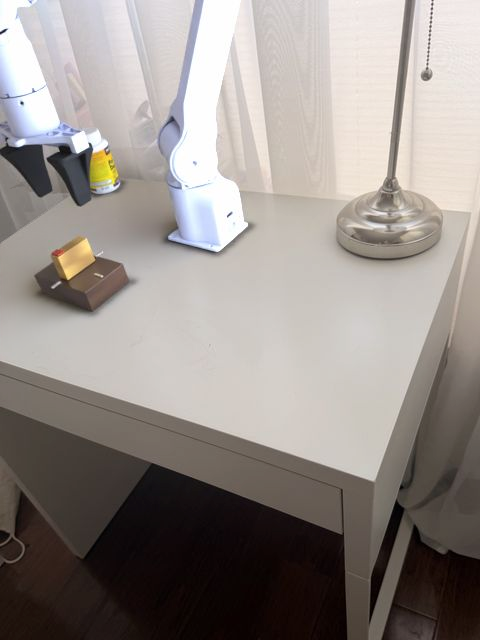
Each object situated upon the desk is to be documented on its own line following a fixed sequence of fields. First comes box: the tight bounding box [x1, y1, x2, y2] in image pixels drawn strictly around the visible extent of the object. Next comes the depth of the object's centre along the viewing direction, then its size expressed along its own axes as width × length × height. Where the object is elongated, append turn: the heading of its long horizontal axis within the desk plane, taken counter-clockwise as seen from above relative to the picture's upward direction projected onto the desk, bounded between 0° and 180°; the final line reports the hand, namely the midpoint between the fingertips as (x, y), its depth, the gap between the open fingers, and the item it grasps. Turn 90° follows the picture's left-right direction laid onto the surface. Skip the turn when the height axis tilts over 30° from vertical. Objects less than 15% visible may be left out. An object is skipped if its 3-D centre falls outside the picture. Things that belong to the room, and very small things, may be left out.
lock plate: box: [33, 250, 130, 312], centre depth 73 cm, size 10×9×3 cm
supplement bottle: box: [80, 126, 121, 195], centre depth 94 cm, size 6×6×10 cm
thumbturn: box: [49, 235, 95, 280], centre depth 71 cm, size 5×2×4 cm, turn 147°
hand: (64, 198), depth 72 cm, fingers open, 7 cm apart
